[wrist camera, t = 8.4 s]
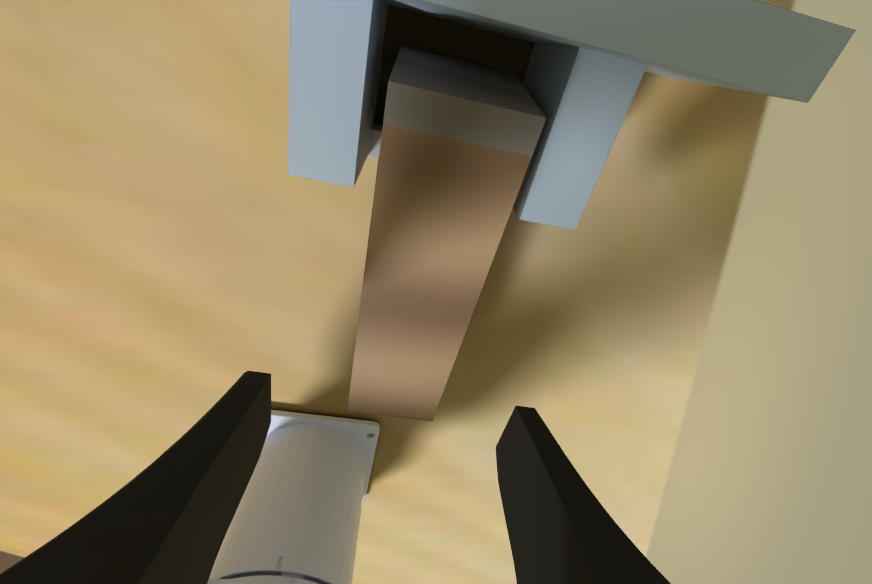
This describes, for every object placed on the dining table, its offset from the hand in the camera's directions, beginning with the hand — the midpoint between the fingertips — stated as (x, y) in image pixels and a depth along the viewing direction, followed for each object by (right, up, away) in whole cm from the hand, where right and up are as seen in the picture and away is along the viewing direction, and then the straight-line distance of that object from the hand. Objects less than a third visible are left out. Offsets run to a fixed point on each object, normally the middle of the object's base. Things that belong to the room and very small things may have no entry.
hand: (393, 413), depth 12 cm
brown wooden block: (+1, +6, +6) cm, 9 cm away
